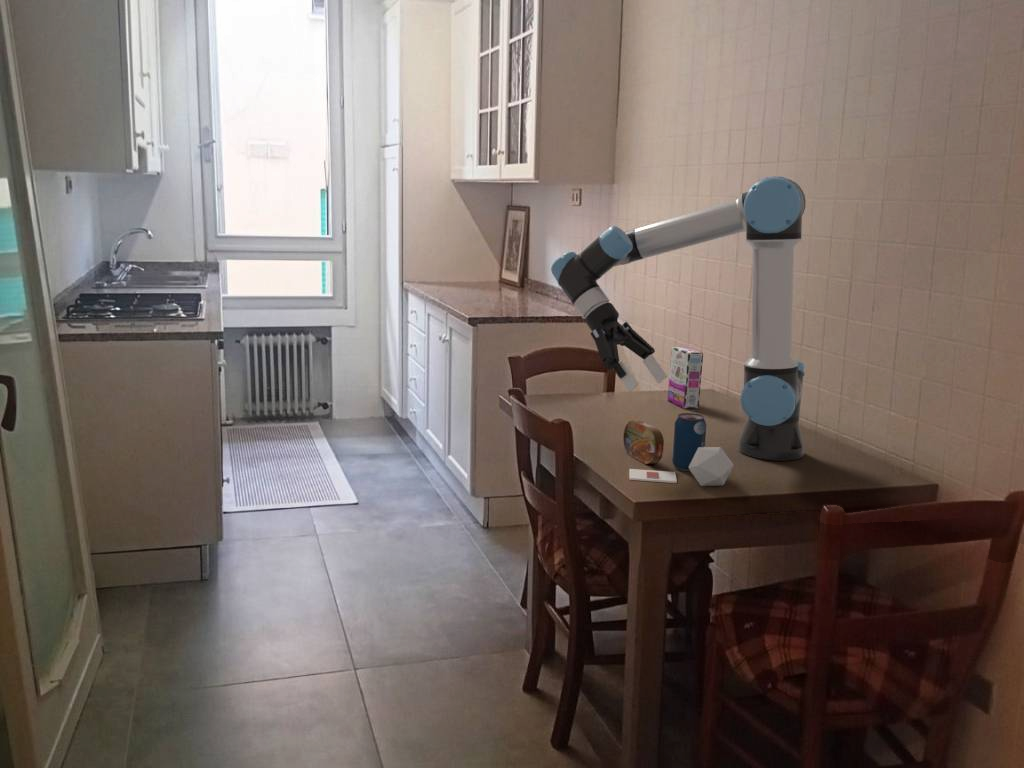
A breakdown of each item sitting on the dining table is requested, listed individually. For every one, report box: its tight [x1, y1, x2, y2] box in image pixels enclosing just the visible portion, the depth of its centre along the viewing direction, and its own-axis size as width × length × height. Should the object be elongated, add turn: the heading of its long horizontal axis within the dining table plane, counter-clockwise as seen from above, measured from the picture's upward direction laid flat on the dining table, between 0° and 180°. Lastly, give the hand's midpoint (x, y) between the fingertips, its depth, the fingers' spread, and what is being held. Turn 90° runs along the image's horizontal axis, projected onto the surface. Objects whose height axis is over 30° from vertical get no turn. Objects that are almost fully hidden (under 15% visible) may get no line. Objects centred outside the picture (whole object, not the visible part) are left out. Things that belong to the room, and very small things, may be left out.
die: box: [688, 446, 734, 487], centre depth 204 cm, size 8×9×10 cm
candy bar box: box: [667, 346, 704, 410], centre depth 278 cm, size 11×5×16 cm, turn 17°
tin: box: [622, 420, 665, 465], centre depth 221 cm, size 15×3×8 cm, turn 21°
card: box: [628, 468, 678, 484], centre depth 208 cm, size 10×7×1 cm
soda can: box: [671, 412, 707, 472], centre depth 215 cm, size 7×7×12 cm
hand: (648, 384), depth 220 cm, fingers open, 13 cm apart
